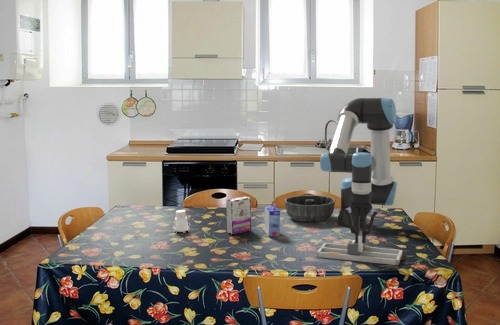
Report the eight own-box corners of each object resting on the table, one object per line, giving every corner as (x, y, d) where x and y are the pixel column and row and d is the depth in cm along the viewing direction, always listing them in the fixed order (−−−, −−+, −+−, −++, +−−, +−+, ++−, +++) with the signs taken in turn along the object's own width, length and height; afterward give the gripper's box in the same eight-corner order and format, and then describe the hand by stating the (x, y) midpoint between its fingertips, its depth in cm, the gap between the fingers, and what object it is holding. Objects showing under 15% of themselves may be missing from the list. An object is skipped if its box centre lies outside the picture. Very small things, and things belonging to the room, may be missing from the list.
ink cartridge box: (280, 236, 262) (280, 205, 260) (268, 237, 261) (268, 206, 259) (275, 230, 272) (275, 201, 269) (264, 231, 271) (263, 201, 268)
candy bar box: (245, 229, 275) (245, 195, 273) (251, 231, 271) (251, 197, 269) (226, 233, 269) (225, 199, 266) (232, 235, 265) (231, 200, 262)
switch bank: (324, 249, 241) (324, 241, 240) (402, 257, 229) (402, 249, 229) (316, 259, 228) (316, 251, 227) (398, 268, 217) (398, 259, 216)
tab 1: (349, 255, 229) (349, 239, 228) (359, 256, 227) (359, 240, 226) (347, 258, 225) (347, 242, 224) (357, 259, 223) (357, 243, 222)
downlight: (191, 229, 276) (190, 209, 275) (188, 233, 269) (187, 212, 268) (175, 229, 277) (174, 209, 276) (172, 233, 270) (170, 213, 269)
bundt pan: (277, 215, 303) (276, 196, 302) (322, 211, 311) (322, 193, 309) (295, 227, 278) (295, 207, 277) (344, 222, 286) (344, 203, 285)
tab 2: (355, 250, 235) (355, 235, 234) (364, 251, 233) (365, 235, 232) (353, 254, 230) (353, 237, 229) (362, 255, 229) (363, 238, 228)
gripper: (342, 193, 220) (342, 252, 223) (376, 195, 215) (375, 255, 219) (346, 189, 227) (345, 246, 230) (379, 191, 222) (378, 249, 226)
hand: (360, 250), depth 225 cm, fingers closed
